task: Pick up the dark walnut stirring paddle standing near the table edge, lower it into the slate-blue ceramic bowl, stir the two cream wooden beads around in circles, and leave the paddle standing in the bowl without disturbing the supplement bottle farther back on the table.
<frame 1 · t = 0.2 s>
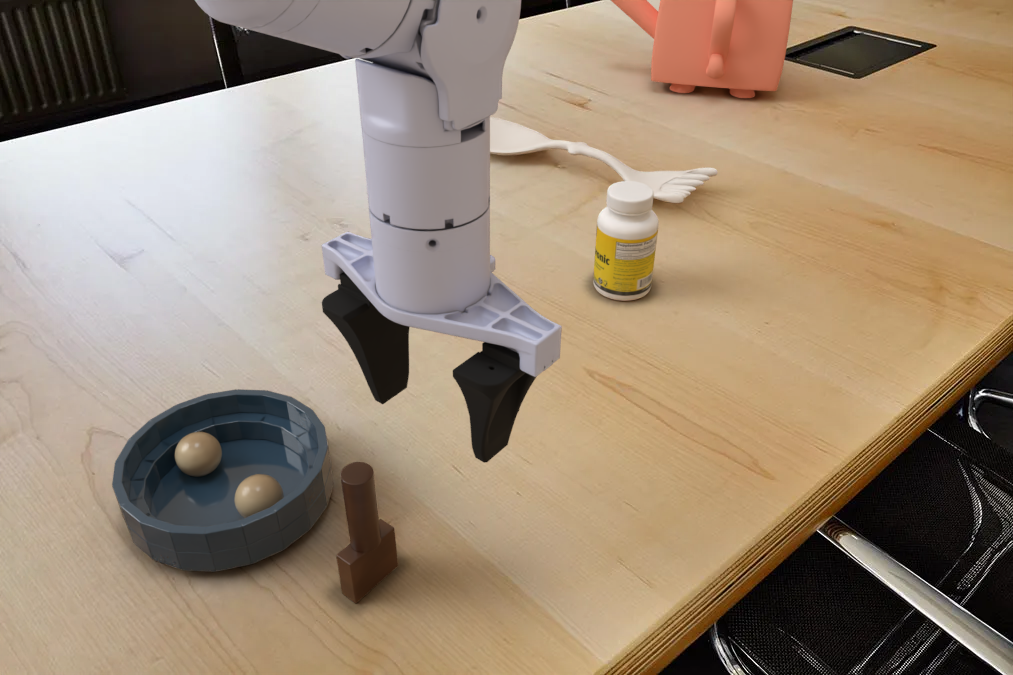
hand: (439, 421, 48), 10 cm above the table, tool pointing down, fingers open, 7 cm apart
bead far: (198, 454, 58), point 2 cm above the table, touching bowl
bead near: (259, 497, 54), point 2 cm above the table, touching bowl
spoon: (572, 172, 100), on the table
bowl: (233, 497, 57), on the table
supplement bottle: (621, 288, 79), on the table
teapot: (687, 80, 126), on the table
stir paddle: (370, 579, 52), on the table
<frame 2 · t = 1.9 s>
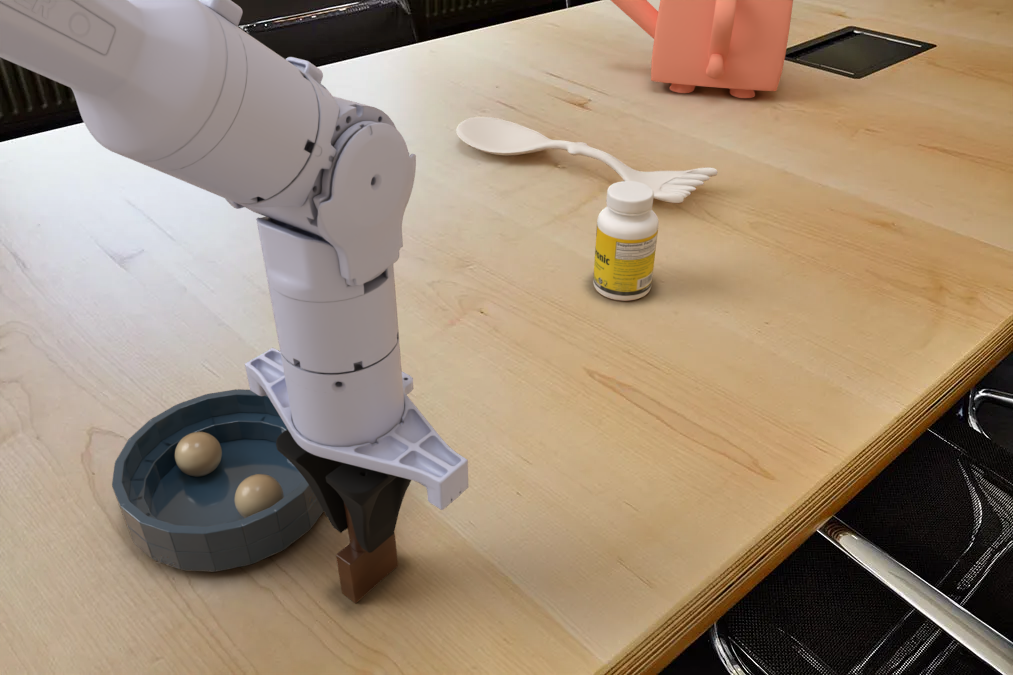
hand: (364, 530, 49), 4 cm above the table, tool pointing down, fingers closed on stir paddle, 2 cm apart
stir paddle: (370, 579, 52), on the table, touching gripper
everything else where it was.
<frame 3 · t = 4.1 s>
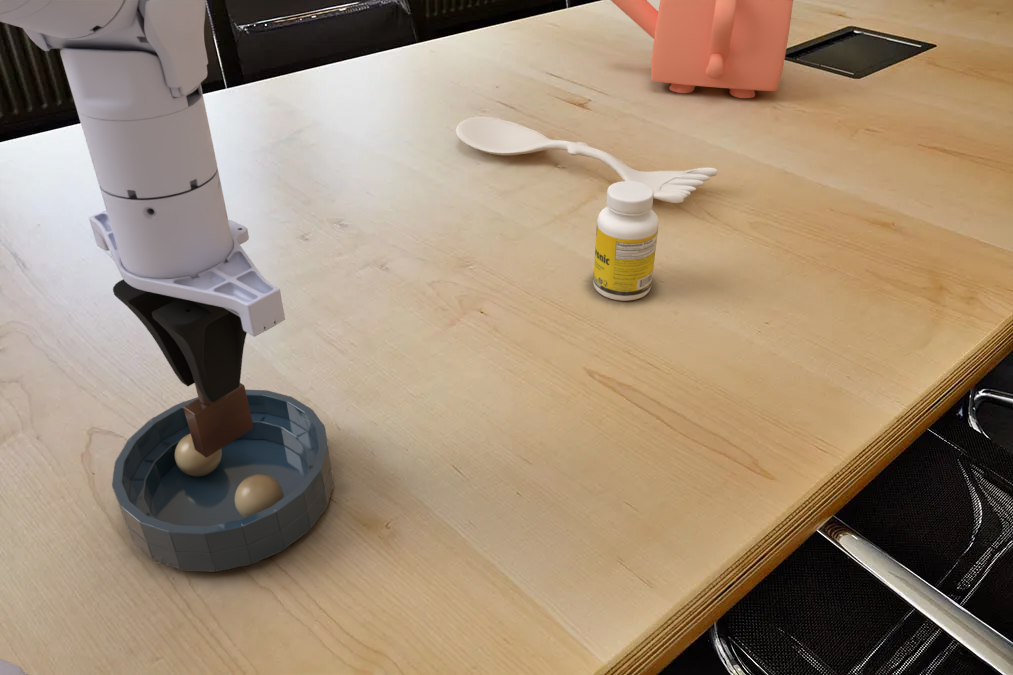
hand: (211, 384, 51), 10 cm above the table, tool pointing down, fingers closed on stir paddle
stir paddle: (224, 438, 54), point 6 cm above the table, touching gripper
everything else where it was.
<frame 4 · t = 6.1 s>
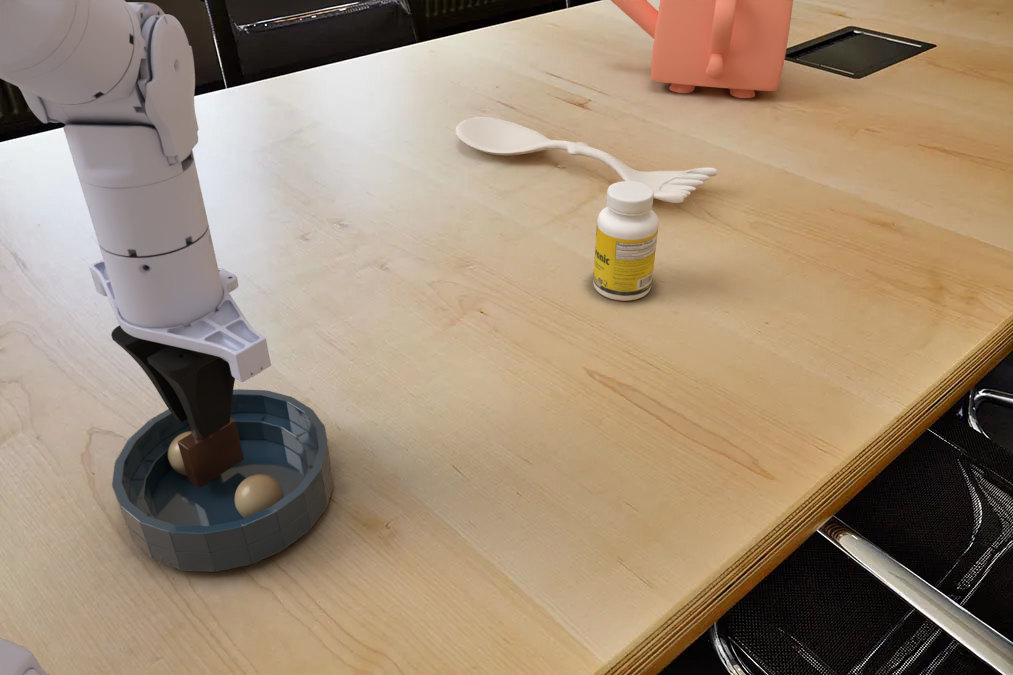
hand: (203, 420, 55), 6 cm above the table, tool pointing down, fingers closed on stir paddle, 2 cm apart
bead far: (191, 453, 58), point 2 cm above the table, tilted 16°, touching bowl, stir paddle
stir paddle: (216, 470, 57), point 2 cm above the table, touching bead far, gripper
everything else where it was.
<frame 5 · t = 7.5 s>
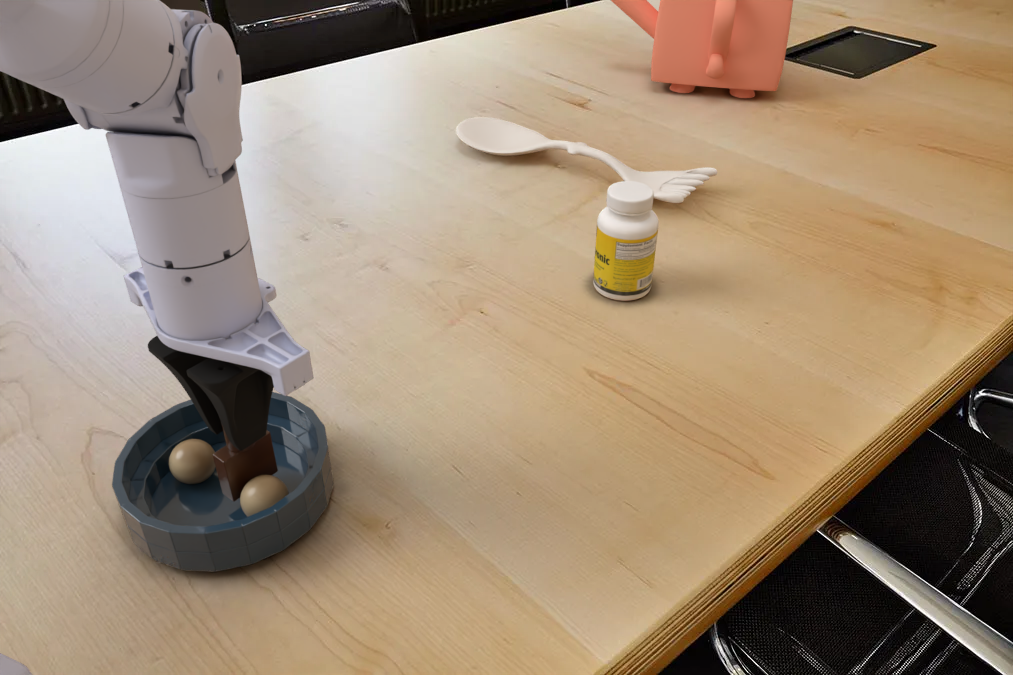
hand: (238, 432, 54), 6 cm above the table, tool pointing down, fingers closed on stir paddle, 2 cm apart
bead far: (192, 461, 57), point 2 cm above the table, tilted 18°, touching bowl
bead near: (264, 498, 54), point 2 cm above the table, tilted 12°, touching bowl
stir paddle: (250, 482, 56), point 2 cm above the table, touching gripper
everything else where it was.
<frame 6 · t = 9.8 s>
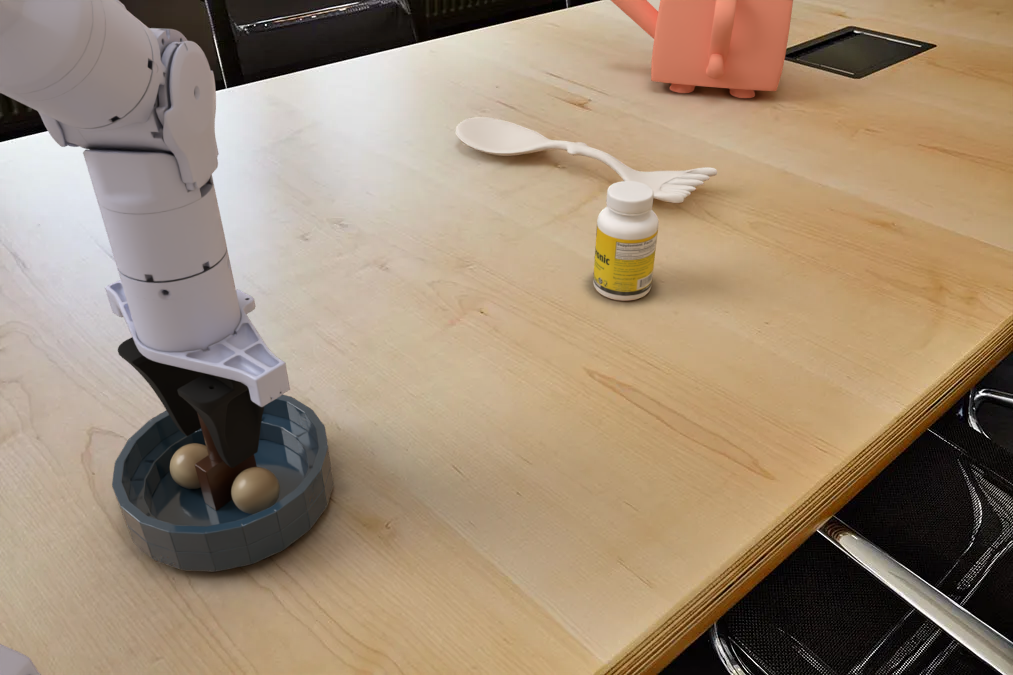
hand: (219, 441, 54), 5 cm above the table, tool pointing down, fingers open, 4 cm apart
bead far: (193, 466, 57), point 2 cm above the table, tilted 26°, touching bowl
bead near: (255, 490, 55), point 2 cm above the table, tilted 29°, touching bowl
stir paddle: (232, 491, 57), point 1 cm above the table, touching bowl
everything else where it was.
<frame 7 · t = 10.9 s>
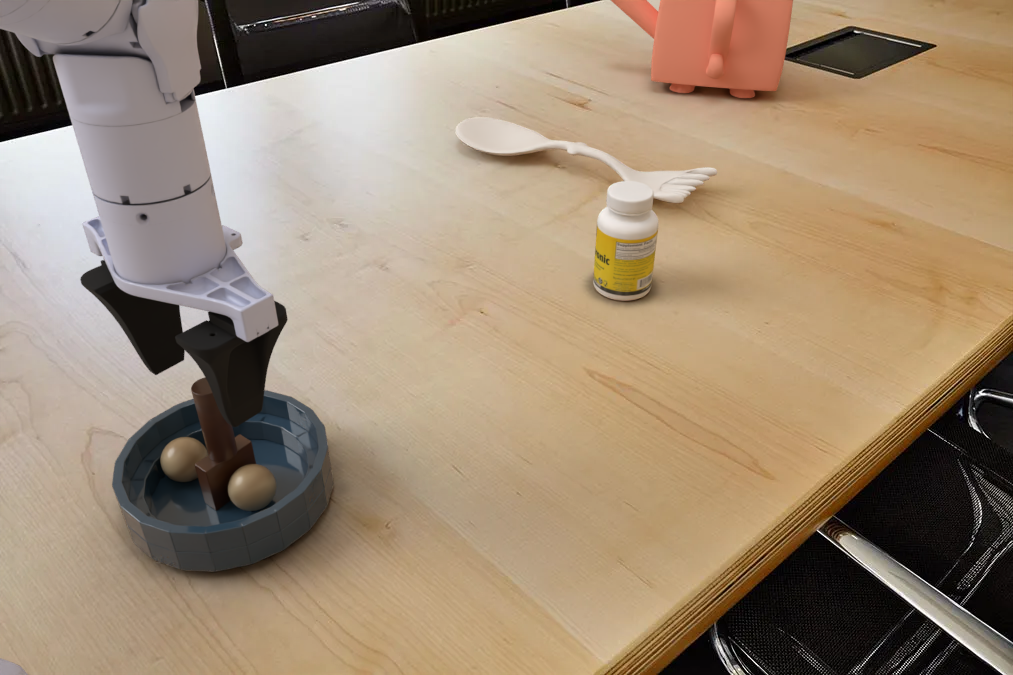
hand: (204, 390, 51), 10 cm above the table, tool pointing down, fingers open, 7 cm apart
bead far: (184, 459, 57), point 2 cm above the table, tilted 20°, touching bowl
bead near: (252, 487, 55), point 2 cm above the table, tilted 44°, touching bowl
everything else where it was.
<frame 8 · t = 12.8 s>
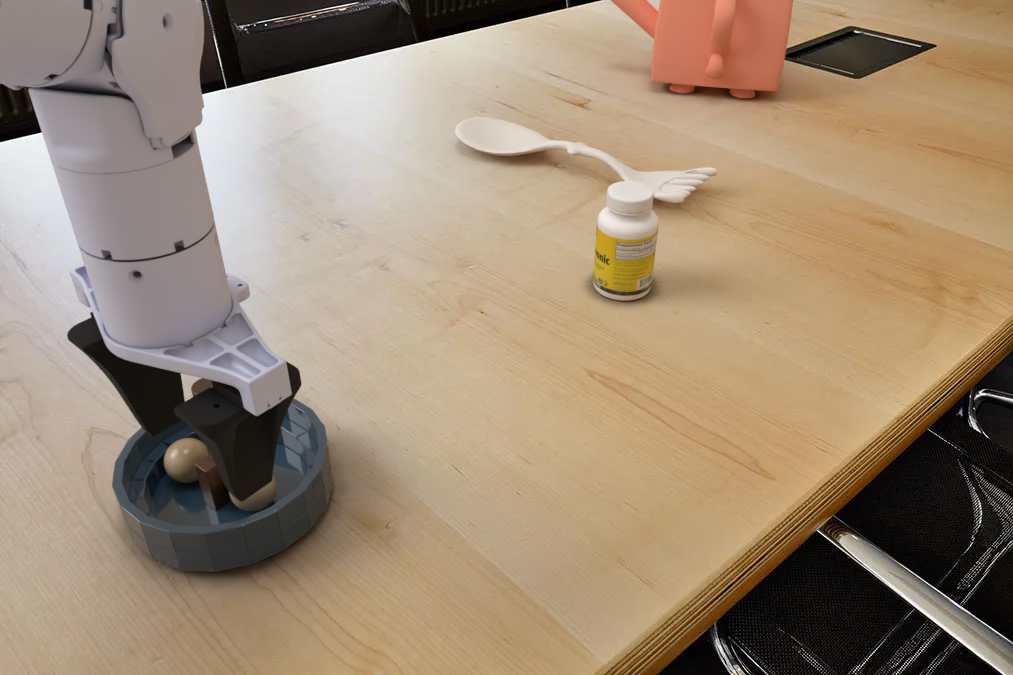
hand: (207, 455, 46), 10 cm above the table, tool pointing down, fingers open, 7 cm apart
bead far: (187, 460, 57), point 2 cm above the table, tilted 12°, touching bowl
everything else where it was.
at the end: stir paddle inside the target area in the bowl (0.1 cm from its centre), point 0.6 cm above the bowl's base; bead far moved 0.8 cm from its start; supplement bottle moved 0.2 cm from its start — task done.
